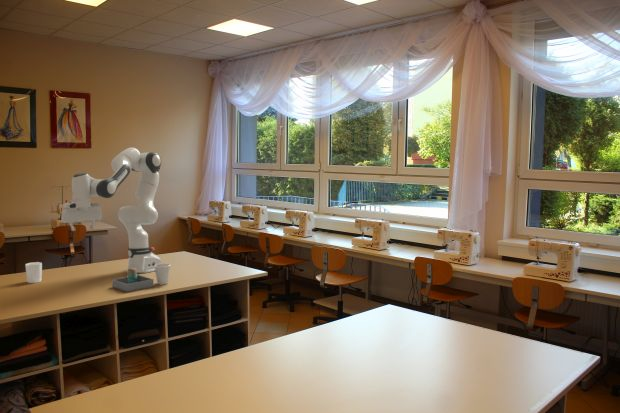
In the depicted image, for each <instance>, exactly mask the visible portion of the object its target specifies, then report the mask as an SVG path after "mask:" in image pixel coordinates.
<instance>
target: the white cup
mask: <svg viewBox="0 0 620 413" xmlns="http://www.w3.org/2000/svg"><path fill="white" fill-rule="evenodd" d="M24 266H25V274H26V282H27V283H28V284H36V283H40V282H42V277H43V263H42V262H39V261H36V262H35V261H34V262H28V263H25V265H24Z"/></svg>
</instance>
